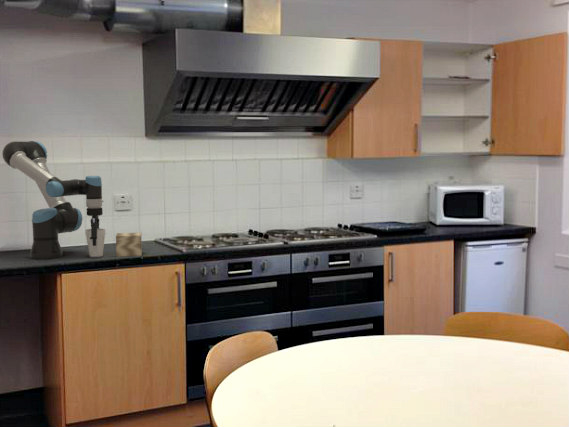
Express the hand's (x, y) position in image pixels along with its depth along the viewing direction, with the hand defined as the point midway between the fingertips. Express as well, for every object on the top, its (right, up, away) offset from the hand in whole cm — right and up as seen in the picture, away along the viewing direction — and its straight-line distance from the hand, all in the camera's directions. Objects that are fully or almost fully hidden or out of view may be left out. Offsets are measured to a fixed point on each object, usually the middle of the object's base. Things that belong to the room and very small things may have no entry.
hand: (96, 250), depth 360 cm
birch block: (+16, -2, +4) cm, 16 cm away
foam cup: (0, -3, 0) cm, 3 cm away
